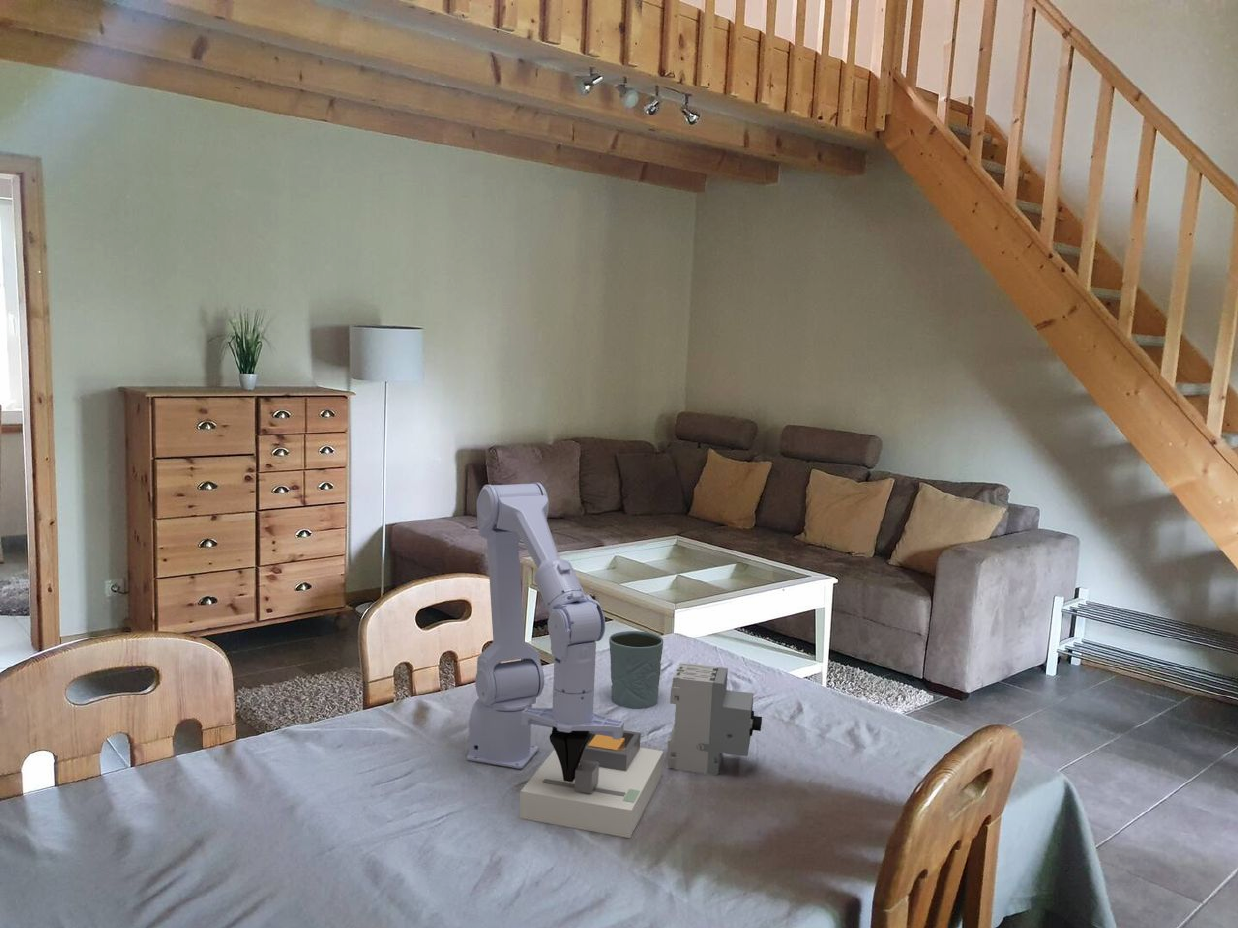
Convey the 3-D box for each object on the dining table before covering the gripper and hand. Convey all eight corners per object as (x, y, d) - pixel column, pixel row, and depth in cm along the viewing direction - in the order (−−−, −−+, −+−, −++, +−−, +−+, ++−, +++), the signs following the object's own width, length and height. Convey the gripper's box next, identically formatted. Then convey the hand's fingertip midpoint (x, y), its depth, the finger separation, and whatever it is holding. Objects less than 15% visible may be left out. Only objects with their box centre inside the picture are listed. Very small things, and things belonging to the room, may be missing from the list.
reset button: (587, 757, 145) (587, 745, 144) (595, 745, 149) (596, 733, 149) (616, 762, 143) (617, 749, 143) (624, 750, 148) (624, 738, 148)
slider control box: (519, 817, 134) (521, 773, 133) (564, 759, 153) (566, 720, 152) (630, 838, 130) (632, 792, 129) (661, 775, 149) (664, 735, 148)
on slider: (574, 790, 134) (575, 770, 133) (582, 779, 137) (583, 759, 137) (591, 793, 133) (591, 772, 133) (598, 782, 137) (599, 762, 136)
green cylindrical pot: (660, 711, 175) (664, 648, 173) (605, 708, 175) (608, 645, 173) (659, 691, 185) (662, 631, 183) (607, 688, 185) (609, 628, 183)
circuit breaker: (756, 780, 149) (763, 688, 147) (666, 768, 152) (671, 677, 150) (759, 760, 156) (765, 672, 154) (673, 749, 159) (678, 662, 157)
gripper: (514, 689, 132) (511, 782, 134) (615, 703, 128) (611, 799, 130) (532, 672, 139) (529, 761, 140) (629, 686, 135) (624, 777, 137)
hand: (569, 778), depth 136 cm, fingers closed
